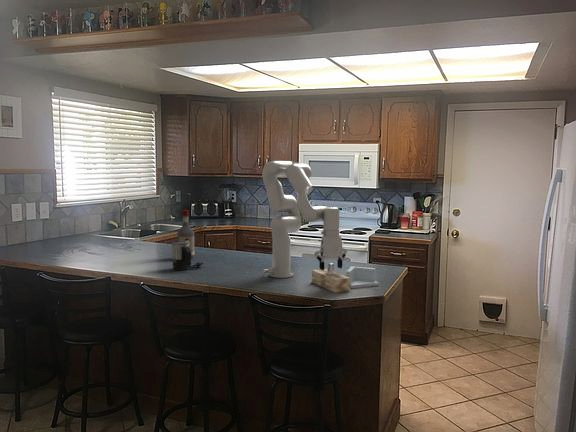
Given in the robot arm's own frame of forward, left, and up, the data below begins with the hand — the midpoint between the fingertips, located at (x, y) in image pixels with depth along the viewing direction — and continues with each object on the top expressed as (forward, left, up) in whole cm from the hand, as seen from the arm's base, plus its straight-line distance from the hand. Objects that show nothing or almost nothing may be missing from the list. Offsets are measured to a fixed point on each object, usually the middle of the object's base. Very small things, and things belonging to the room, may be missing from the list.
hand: (331, 268), depth 228 cm
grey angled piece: (+15, -1, -9) cm, 17 cm away
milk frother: (-53, +66, -9) cm, 85 cm away
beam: (0, 0, -9) cm, 9 cm away
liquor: (-47, +95, -9) cm, 107 cm away
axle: (0, 0, -9) cm, 9 cm away
